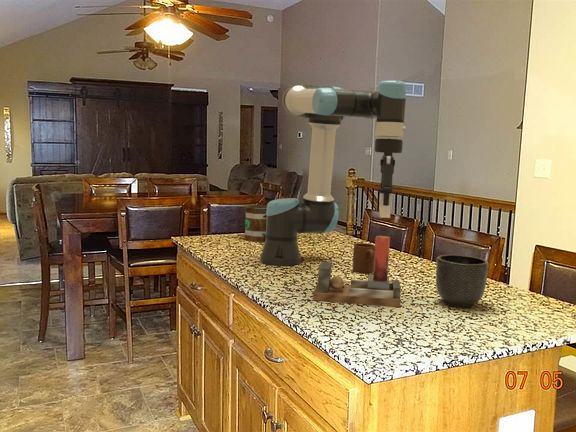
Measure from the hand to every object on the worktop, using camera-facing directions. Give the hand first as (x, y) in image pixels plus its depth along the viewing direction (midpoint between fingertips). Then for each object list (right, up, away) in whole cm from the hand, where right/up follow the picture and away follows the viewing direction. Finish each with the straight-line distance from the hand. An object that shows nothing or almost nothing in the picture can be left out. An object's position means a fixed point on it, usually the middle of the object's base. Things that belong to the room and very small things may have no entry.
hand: (384, 214), depth 151 cm
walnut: (-13, -22, +4) cm, 26 cm away
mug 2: (0, -20, +36) cm, 41 cm away
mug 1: (-39, -12, +92) cm, 100 cm away
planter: (+22, -26, +2) cm, 34 cm away
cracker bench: (-7, -24, +4) cm, 25 cm away
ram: (-1, -22, +3) cm, 22 cm away
